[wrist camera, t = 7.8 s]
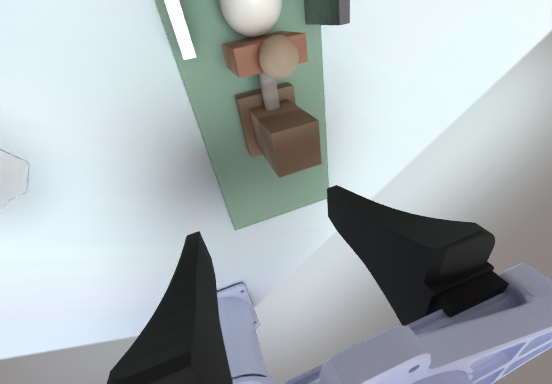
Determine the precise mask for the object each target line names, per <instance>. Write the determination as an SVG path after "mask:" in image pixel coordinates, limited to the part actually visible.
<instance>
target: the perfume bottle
mask: <svg viewBox="0 0 552 384" xmlns="http://www.w3.org/2000/svg"><path fill="white" fill-rule="evenodd" d="M28 170H29V164H28V163H27V162H26V161H24V160H22V159H19V158H17V157H15V156H13V155H10V154H8V153H6V152H4V151H2V150H0V212H1V210H2V209H3V207H4V206H5V205H6V203H7V202H8V201H10V200H12V199H14V198H16V197H18V196H20V195H22V194H24V193H25V192H26V187H27V178H28Z"/></svg>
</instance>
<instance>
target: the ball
mask: <svg viewBox="0 0 552 384" xmlns="http://www.w3.org/2000/svg"><path fill="white" fill-rule="evenodd" d="M219 3H220V8H221V11H222V14H223V16H224V18H225V20H226V21H227V23H228V24H229V25H230V26H231V28H233V29H234V30H235V31H236V32H238V33H240V34H242V35H244V36H249V37H256V36H260V35H263V34H265V33H267V32H268V31H269V30H271V29H272V28H273V26H274V25H275V24H276V22H277V20H278V18H279V16H280V13H281V9H282V0H219Z"/></svg>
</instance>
